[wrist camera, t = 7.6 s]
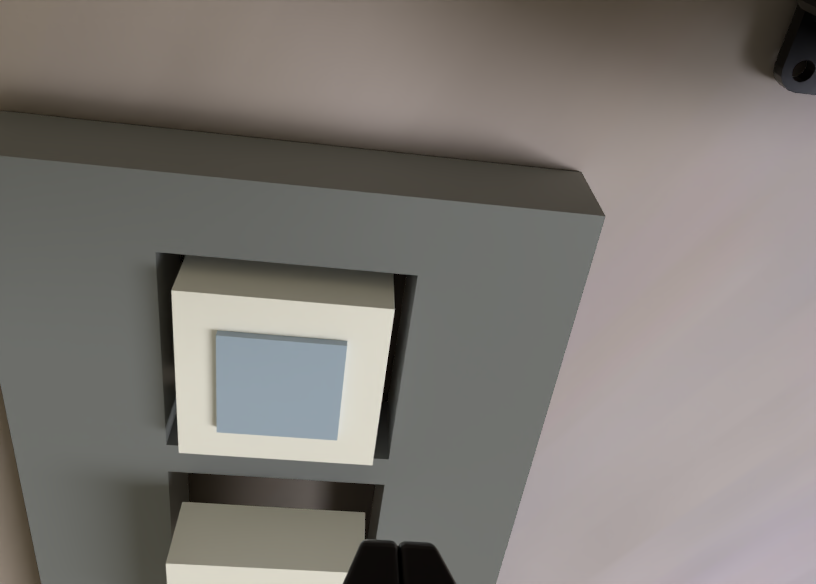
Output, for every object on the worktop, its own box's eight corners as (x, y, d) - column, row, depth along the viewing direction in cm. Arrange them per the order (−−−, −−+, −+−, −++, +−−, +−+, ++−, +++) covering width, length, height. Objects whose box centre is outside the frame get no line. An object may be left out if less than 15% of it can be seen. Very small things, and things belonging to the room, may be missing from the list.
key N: (392, 264, 19) (395, 314, 17) (372, 413, 22) (372, 471, 20) (189, 245, 19) (169, 295, 17) (193, 401, 21) (176, 458, 20)
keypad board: (581, 172, 19) (605, 216, 17) (439, 697, 32) (443, 758, 30) (0, 111, 18) (-47, 150, 16) (94, 686, 31) (75, 748, 29)
